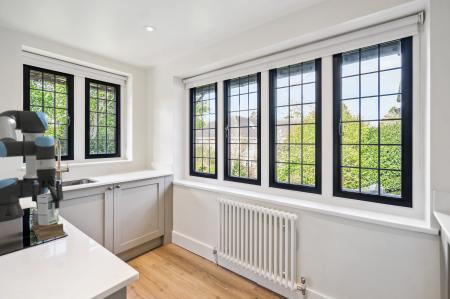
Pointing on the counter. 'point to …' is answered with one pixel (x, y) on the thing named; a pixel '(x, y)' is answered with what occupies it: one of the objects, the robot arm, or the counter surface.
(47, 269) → the counter surface
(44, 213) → the syrup box
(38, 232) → the book rack
